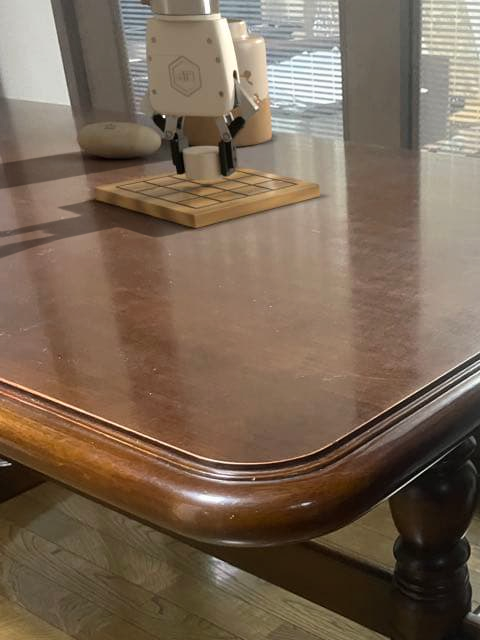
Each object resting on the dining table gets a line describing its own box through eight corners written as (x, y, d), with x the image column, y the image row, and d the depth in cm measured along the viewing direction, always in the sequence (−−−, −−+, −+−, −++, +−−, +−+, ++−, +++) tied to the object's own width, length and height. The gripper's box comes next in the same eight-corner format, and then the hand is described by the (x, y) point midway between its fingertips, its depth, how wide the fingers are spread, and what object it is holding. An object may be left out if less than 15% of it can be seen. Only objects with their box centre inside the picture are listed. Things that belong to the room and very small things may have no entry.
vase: (161, 137, 145) (145, 19, 135) (242, 127, 152) (232, 15, 143) (206, 152, 135) (191, 26, 125) (290, 140, 143) (282, 21, 133)
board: (95, 199, 110) (92, 186, 109) (219, 173, 123) (218, 161, 122) (195, 228, 100) (193, 214, 99) (320, 196, 112) (319, 183, 111)
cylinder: (176, 176, 109) (173, 150, 108) (209, 169, 113) (206, 144, 111) (203, 182, 107) (200, 156, 105) (236, 175, 110) (233, 149, 108)
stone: (157, 142, 127) (71, 117, 124) (154, 181, 132) (71, 157, 129) (165, 122, 130) (82, 97, 127) (162, 160, 135) (81, 137, 132)
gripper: (100, 5, 97) (129, 177, 108) (246, 7, 95) (262, 183, 105) (129, 0, 104) (154, 164, 114) (268, 2, 101) (280, 169, 111)
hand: (206, 171), depth 109 cm, fingers closed on cylinder, 5 cm apart
